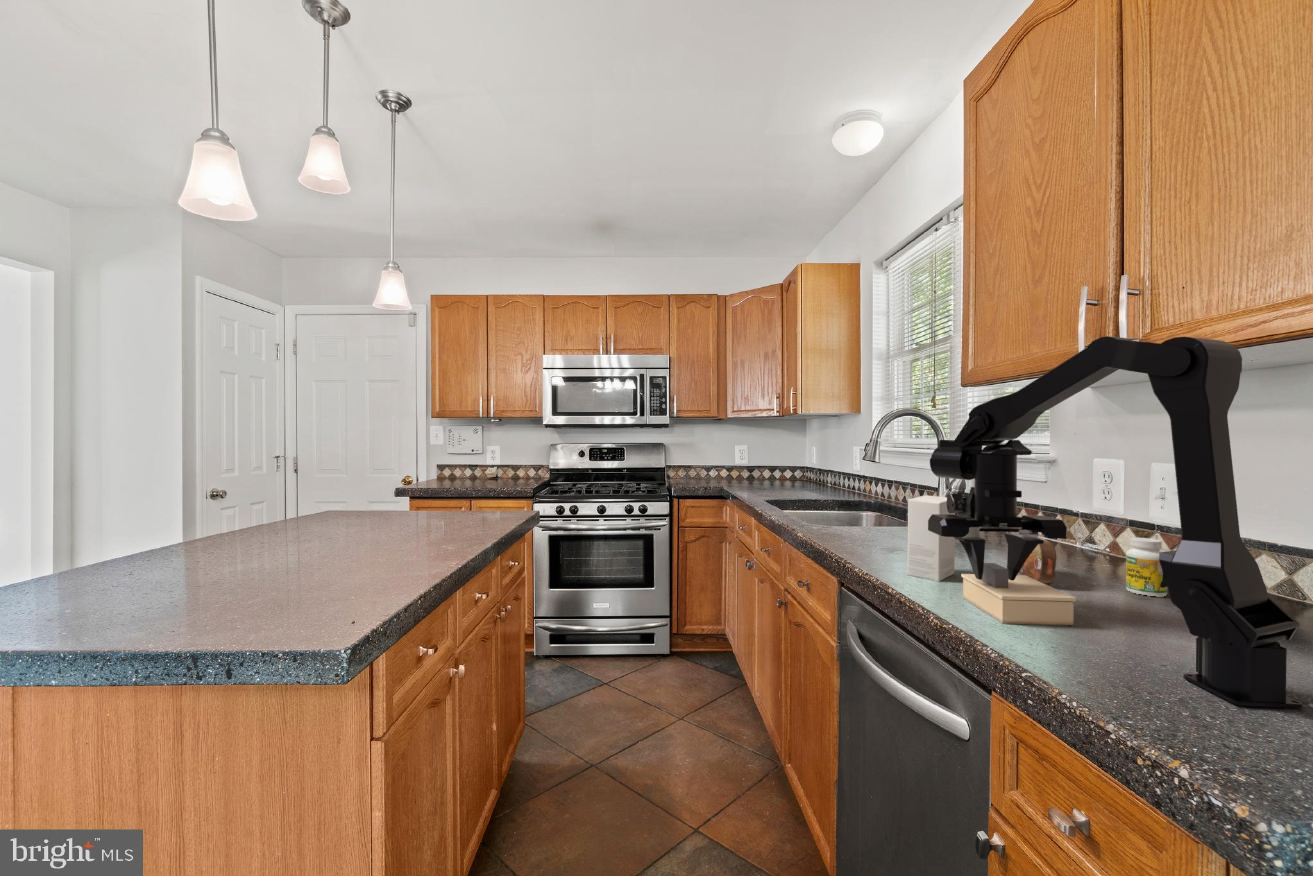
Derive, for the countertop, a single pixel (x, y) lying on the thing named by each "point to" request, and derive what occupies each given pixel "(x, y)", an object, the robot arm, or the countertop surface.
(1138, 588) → the supplement bottle
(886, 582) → the countertop surface
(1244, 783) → the countertop surface
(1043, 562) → the tin
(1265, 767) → the countertop surface
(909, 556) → the skincare box
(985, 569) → the carton lid
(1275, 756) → the countertop surface
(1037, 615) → the carton
